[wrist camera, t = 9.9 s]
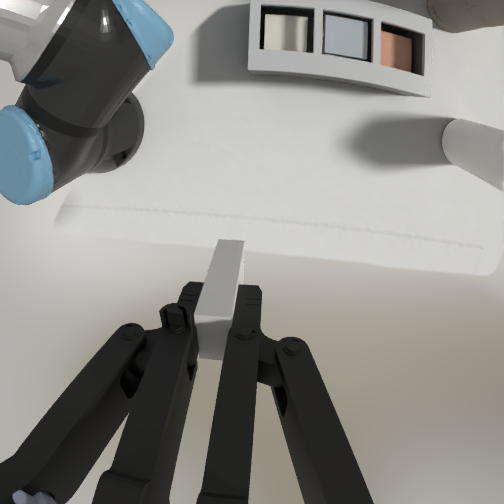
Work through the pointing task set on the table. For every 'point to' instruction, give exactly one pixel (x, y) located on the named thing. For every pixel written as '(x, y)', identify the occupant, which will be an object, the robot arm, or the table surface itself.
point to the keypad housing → (344, 69)
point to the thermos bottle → (466, 14)
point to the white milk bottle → (476, 150)
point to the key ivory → (285, 33)
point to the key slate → (345, 37)
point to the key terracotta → (396, 51)
